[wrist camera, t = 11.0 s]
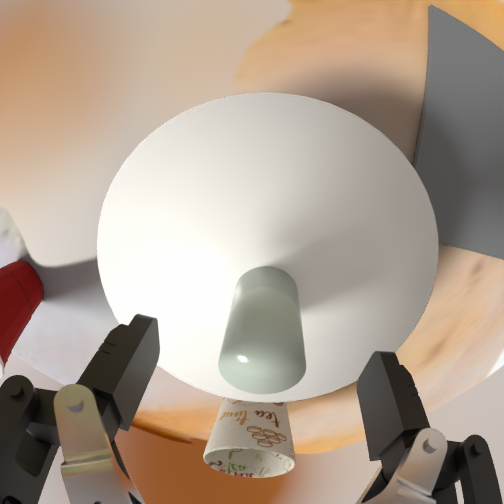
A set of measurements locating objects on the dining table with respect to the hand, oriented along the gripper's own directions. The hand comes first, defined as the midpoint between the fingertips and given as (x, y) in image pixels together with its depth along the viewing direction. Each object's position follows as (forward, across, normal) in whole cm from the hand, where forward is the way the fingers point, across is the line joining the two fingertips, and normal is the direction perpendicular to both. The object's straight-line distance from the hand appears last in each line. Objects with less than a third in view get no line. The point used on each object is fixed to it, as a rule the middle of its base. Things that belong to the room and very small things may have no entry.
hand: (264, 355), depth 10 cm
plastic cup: (+13, +27, +10) cm, 32 cm away
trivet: (+13, -20, -12) cm, 26 cm away
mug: (+13, -1, +20) cm, 24 cm away
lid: (+6, 0, 0) cm, 6 cm away
